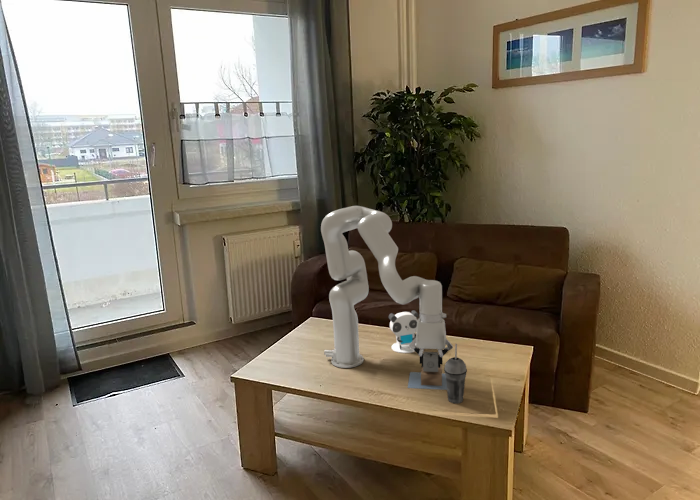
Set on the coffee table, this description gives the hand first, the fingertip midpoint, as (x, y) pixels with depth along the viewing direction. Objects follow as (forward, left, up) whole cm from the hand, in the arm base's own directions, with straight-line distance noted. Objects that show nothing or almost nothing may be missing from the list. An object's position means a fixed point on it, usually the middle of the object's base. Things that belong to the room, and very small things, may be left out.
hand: (431, 365), depth 184 cm
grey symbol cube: (0, -1, -1) cm, 1 cm away
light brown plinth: (0, 0, -6) cm, 6 cm away
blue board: (0, 0, -7) cm, 7 cm away
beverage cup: (+8, -13, -7) cm, 17 cm away
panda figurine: (-12, +30, -7) cm, 33 cm away
